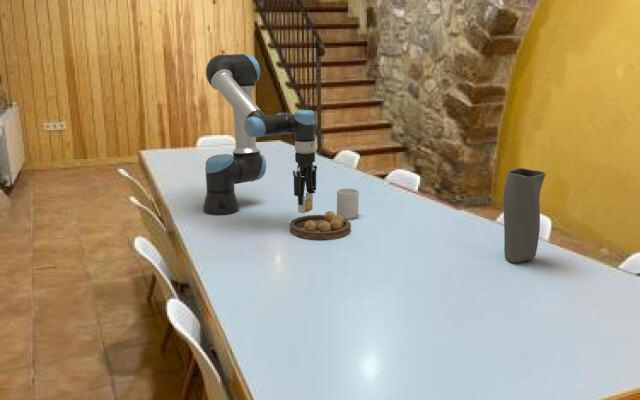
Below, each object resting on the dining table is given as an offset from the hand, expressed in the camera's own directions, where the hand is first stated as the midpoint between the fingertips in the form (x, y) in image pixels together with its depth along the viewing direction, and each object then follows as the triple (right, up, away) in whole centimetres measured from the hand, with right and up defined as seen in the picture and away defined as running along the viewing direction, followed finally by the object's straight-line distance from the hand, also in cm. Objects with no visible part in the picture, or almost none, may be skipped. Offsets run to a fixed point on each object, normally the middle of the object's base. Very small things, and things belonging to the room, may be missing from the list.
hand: (305, 210), depth 227 cm
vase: (+72, -16, -30) cm, 80 cm away
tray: (+6, -7, -2) cm, 10 cm away
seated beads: (+9, -7, -4) cm, 12 cm away
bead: (0, 0, 0) cm, 0 cm away
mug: (+17, -3, +17) cm, 24 cm away
